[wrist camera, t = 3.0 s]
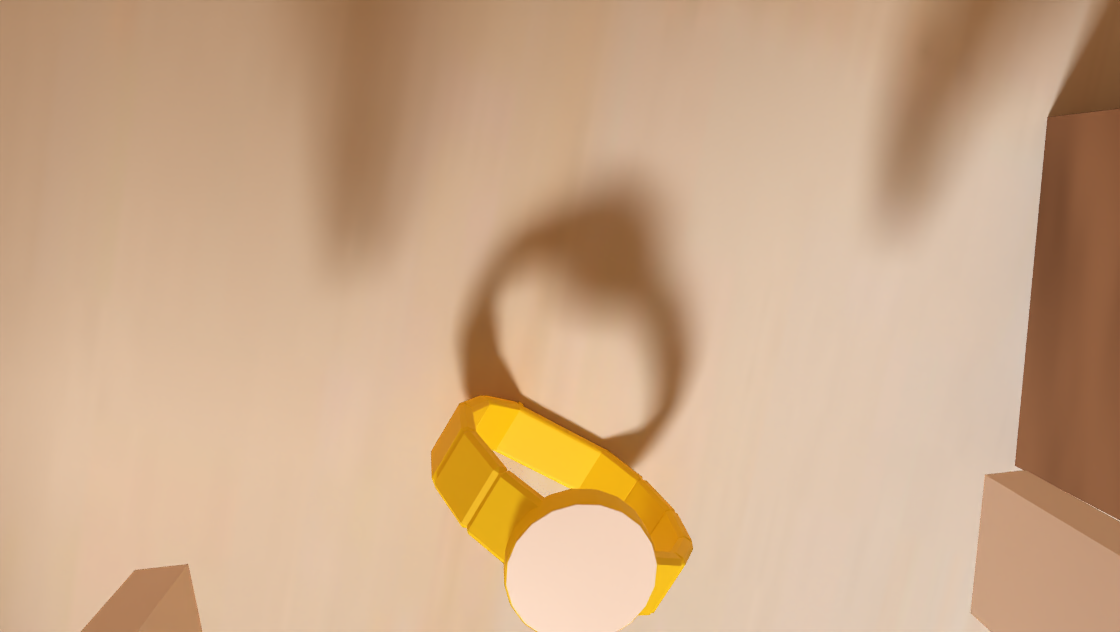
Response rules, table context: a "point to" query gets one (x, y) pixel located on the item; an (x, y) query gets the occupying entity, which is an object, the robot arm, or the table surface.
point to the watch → (559, 519)
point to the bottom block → (1076, 315)
